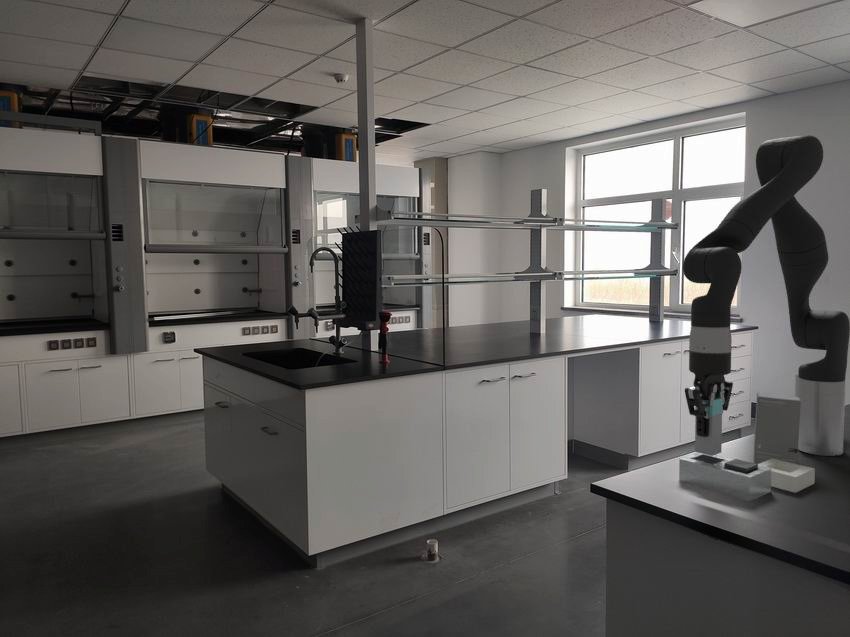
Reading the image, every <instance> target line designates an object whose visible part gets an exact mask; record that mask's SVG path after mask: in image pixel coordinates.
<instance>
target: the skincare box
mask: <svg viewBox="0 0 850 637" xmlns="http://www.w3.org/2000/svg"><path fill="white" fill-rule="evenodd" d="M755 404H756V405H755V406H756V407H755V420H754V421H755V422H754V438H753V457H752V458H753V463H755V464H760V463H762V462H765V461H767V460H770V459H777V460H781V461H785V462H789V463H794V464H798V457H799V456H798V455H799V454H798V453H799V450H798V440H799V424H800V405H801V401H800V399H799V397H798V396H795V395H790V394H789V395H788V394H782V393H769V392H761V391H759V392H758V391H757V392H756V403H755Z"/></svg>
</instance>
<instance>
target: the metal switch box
mask: <svg viewBox="0 0 850 637" xmlns="http://www.w3.org/2000/svg"><path fill="white" fill-rule="evenodd" d="M678 462H679V463H678V464H679V469H678V470H679V471H678V472H679V473H678V478H679V480H678V481H680V482H683V483H686V484H689V485H692V486H696V487H700V488H703V489H706V490H709V491H713V492H716V493H719V494H723V495H726V496H729V497H733V498H736V499H738V500H743V501H746V502H752V501H754V500H757V499H759V498H761V497H763V496H765V495H767V494H770V493H771V492H772V486H771V471H772V469H771V468H767V467H763V466H759V465H758V464H755V463H754V462H750V461H748V460H747V461H746V460H743V459H742V460H741V459H738V458H731V457H726V456H723V455H719V454H716V455H713V456H710V455H706V454H702V453H698V452H695V453H692V454H690V455H686V456H683V457H681V458H679V461H678Z"/></svg>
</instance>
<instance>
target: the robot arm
mask: <svg viewBox="0 0 850 637" xmlns="http://www.w3.org/2000/svg"><path fill="white" fill-rule="evenodd" d="M823 161H824V146H823V144H822V143H821V141H820V139H819V138H817V136H813V135H806V134H805V135H804V134H803V135H796V136H788V137H780V138H774V139H768V140H766V141H763V142H762V143H761V144H760V145H759V146H758V148H757V151H756V154H755V168H756V174H757V177H758V181H759V184H760V187H758V189H756V190H754V191H753V192H751V193H750V194H748V195H746V196H745V197H743V199H741V200H739V201H738V202H737V203H736V204H734V206H733V207H731V209H730V210H729V211H728V213H727V214H726V215H725V216H724V218H723V219H722V220H721V221H720V223H719V225H717V227H716V228H715V229H714V230H713V231H711V232H710V233H708V234H707V235H706V236H704V238H702V239H701V240H700V241H699V242H698V241H697V243H696V244H695V245H693V246H692V247H691V249H690V250H689V251H688V252H687V254H686V256H685V258H684V260H683V263H682V271H683V275H684V277H685V278H686V279H687V280H688V281H689V282H692V283H695V284H710V285H709V288H708V290H707V292H706V294H704V295H700V296H697V297H694V298H693V300H692V302H691V308H690V332H689V340H688V343H689V346H688V351H689V352H688V354H689V356H688V362H689V363H688V370H689V372H691V373H692V374H694V380H693V386H691V387H685V388H684V395H685V396H684V397H685V400H686V404H687V408H688V412H689V415H690V416H694V418H695V417H697V435H698V436H702V437H708V436H709V419H708V418H709V415H710V407H712V402H713V400H714V399H715V398H722V415H723V414H724V411H728V409H729V404H730V399H731V396H732V391H733V387H734V383H733V382H732V381H727V380H726V377H725V376H727V375H730V373H731V372H732V332H731V315H732V314H731V307H732V304H733V300H734V296H735V293H736V291H737V286H738V284H739V282H740V281H739V280H740V277H741V274H742V268H743V267H742V260H741V259H742V258H741V257H740V255H739V254H740V253H742V252H744V251H746V250H747V249H748V248H749V247H750V246H751V244H752V243H753V242H754V241H755V239H756V238H757V236H758V235H759V234H760V232H761V231H762V229H763V228H764V227H765V225H766V224H767V223H768V222H769V221H770V220H771V223H772V229H773V232H774V239H775V243H776V250H777V256H778V260H779V263H780V264H779V265H780V268H781V272H782V277H783V281H784V285H785V290H786V298H787V307H788V315H789V325H790V332H791V337H792V340H793V342H794V344H795V345H796V347H798V348H801V349H807V350H817V351H826V352H825V356H824V357H823V358H822V359H821V358H820V359H819V360H817V361H813V362H808V363H804V364H801V365H799V367H798V371H797V372H798V373H797V374H798V397H799V399H800V401H801V405H800V424H799V440H798V451H801V452H804V453H807V454H811V455H817V456H826V457H836V455H837V456H842V454H844V438H845V437H844V436H845V434H844V432H845V430H844V429H845V409H846V408H845V402H846V401H845V400H846V374H847V367H848V352H849V343H850V317H849V316H848V315H847V313H845V312H844V311H839V310H823V309H822V310H815V309H811V306H810V295H811V293H812V291H813V289H814V287H815V285H816V283H817V282H818V281H819V279H820V278H821V276H822V275H823V273H824V271H825V269H826V268H827V265H828V263H829V251H828V246H827V240H826V234H825V232H824V230H823V228H822V226H821V225H820V224H819V222H818V221H817V220H816V219H815V218H814V217H813V216H812V215H811V214H810V212H808V211H807V210H806V209H805V208H804V207H803V206H802V204H800V202H799V201H798V200H797V198H796V197H795V195H797V194H798V192H800V190H802V189H803V188H804V187H805V185H807V184H808V183H809V182H810V181H811V180H812V179H813V178H814V177H815V176H816V175H817V174H818V172H819V170H820V169H821V167H822V164H823ZM702 400H708V402H702ZM703 406H705V411H704V408H703Z"/></svg>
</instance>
